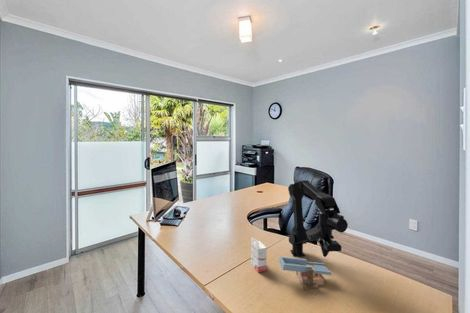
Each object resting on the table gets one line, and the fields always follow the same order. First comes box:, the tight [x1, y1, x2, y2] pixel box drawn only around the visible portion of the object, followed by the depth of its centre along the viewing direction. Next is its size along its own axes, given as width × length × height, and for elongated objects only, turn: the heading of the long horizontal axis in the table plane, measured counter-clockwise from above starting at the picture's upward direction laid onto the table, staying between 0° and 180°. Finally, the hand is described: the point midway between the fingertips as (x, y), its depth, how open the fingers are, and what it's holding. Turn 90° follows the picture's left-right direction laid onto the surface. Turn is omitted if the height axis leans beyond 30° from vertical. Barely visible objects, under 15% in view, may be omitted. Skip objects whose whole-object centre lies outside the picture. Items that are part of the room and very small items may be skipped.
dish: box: [296, 272, 326, 286], centre depth 102 cm, size 10×7×3 cm
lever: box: [278, 256, 332, 276], centre depth 101 cm, size 22×7×3 cm, turn 93°
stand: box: [295, 265, 319, 290], centre depth 101 cm, size 6×11×8 cm, turn 3°
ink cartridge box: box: [250, 236, 268, 273], centre depth 112 cm, size 9×5×15 cm, turn 21°
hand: (324, 256), depth 103 cm, fingers closed
